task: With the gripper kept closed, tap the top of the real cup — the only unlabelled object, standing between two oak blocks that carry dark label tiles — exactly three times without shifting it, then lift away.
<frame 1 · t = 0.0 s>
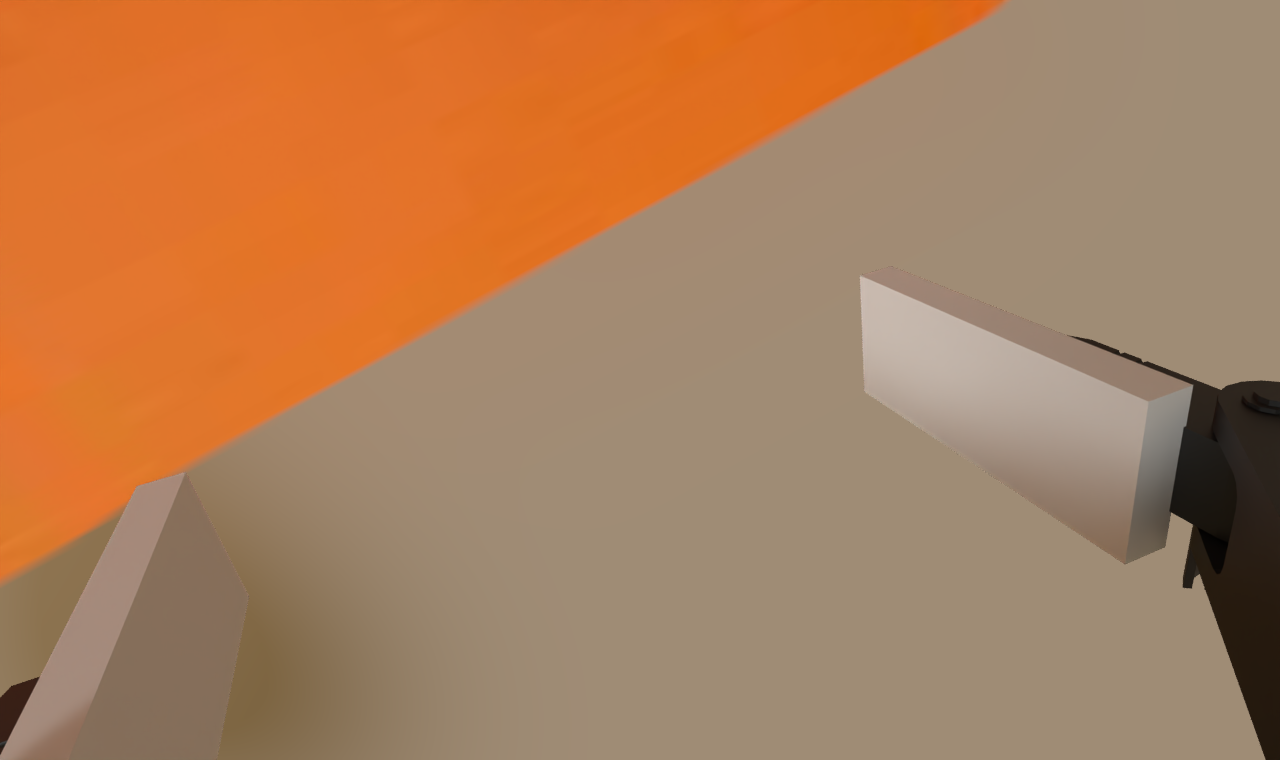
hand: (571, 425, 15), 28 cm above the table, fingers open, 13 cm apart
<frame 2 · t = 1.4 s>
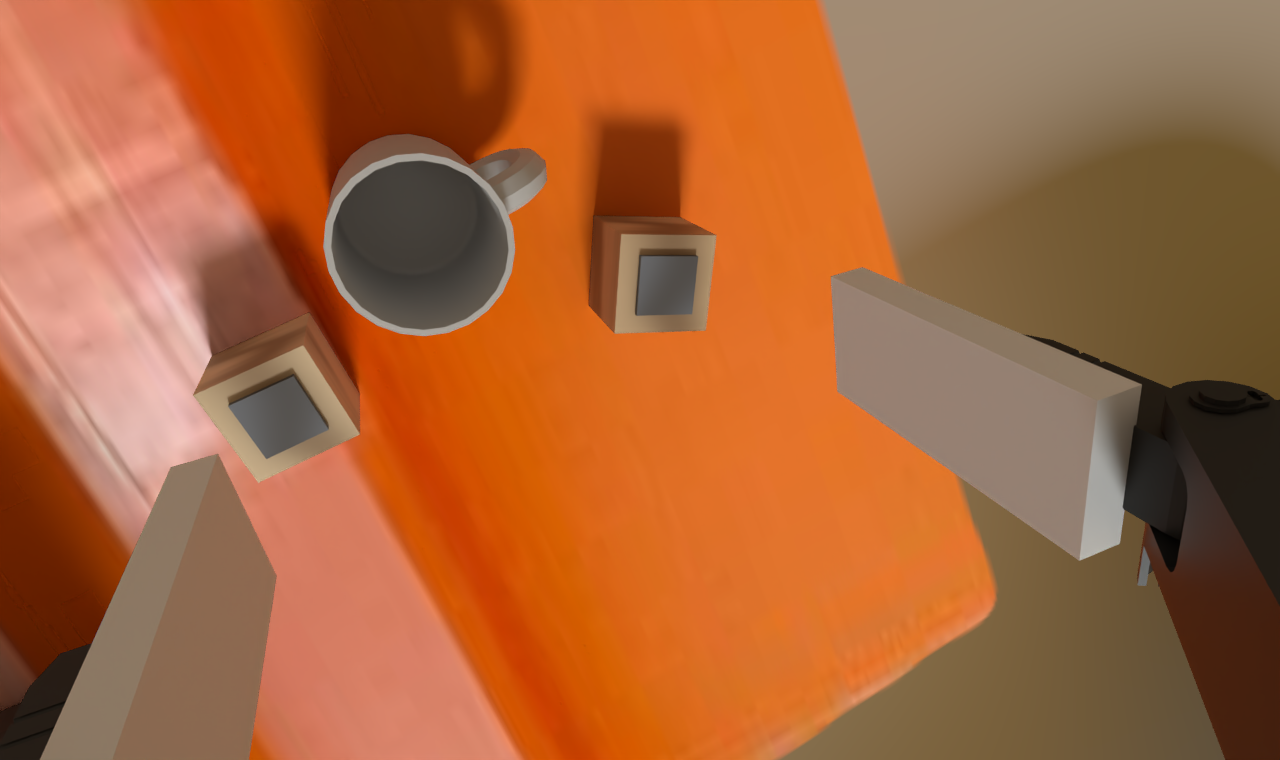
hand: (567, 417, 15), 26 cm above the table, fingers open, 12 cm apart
cup: (434, 194, 38), on the table
oak block 2: (288, 375, 39), on the table
oak block 1: (633, 261, 43), on the table
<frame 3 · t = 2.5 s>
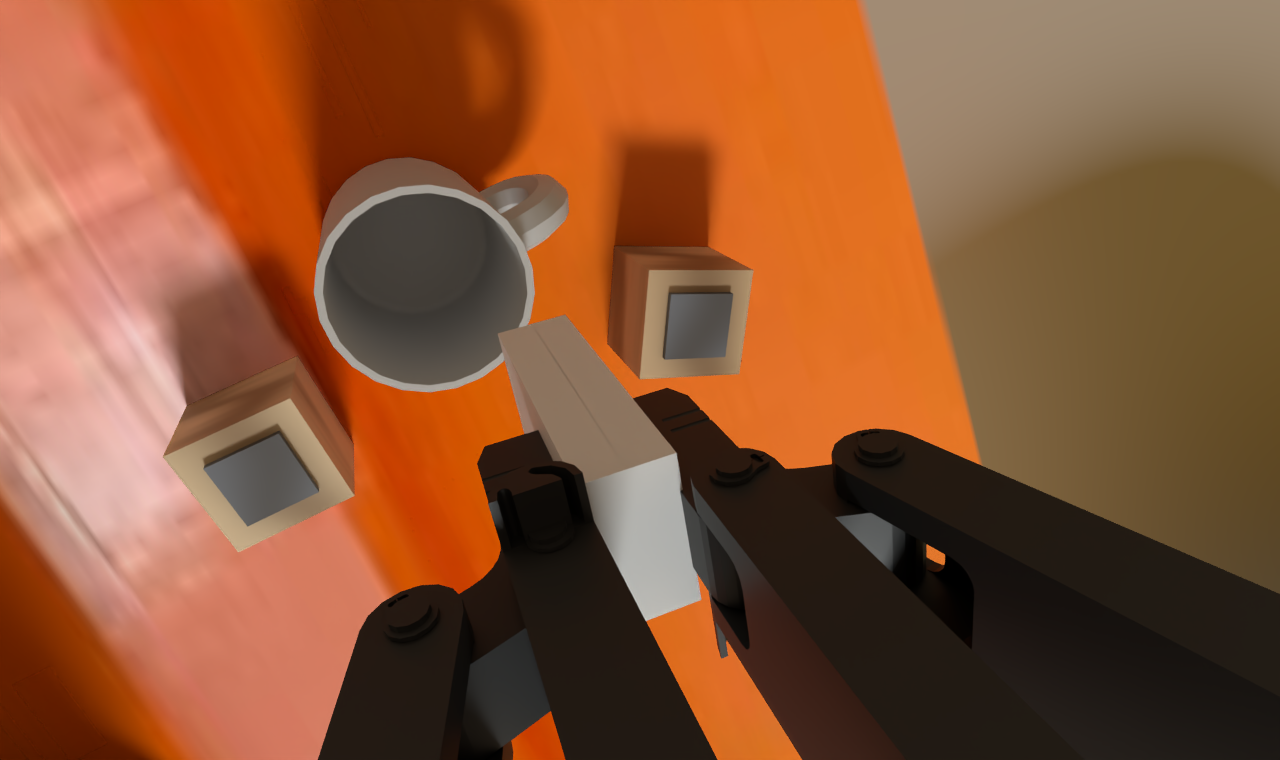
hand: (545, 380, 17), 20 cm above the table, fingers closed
cup: (438, 224, 34), on the table
oak block 2: (274, 425, 35), on the table
oak block 1: (657, 295, 39), on the table
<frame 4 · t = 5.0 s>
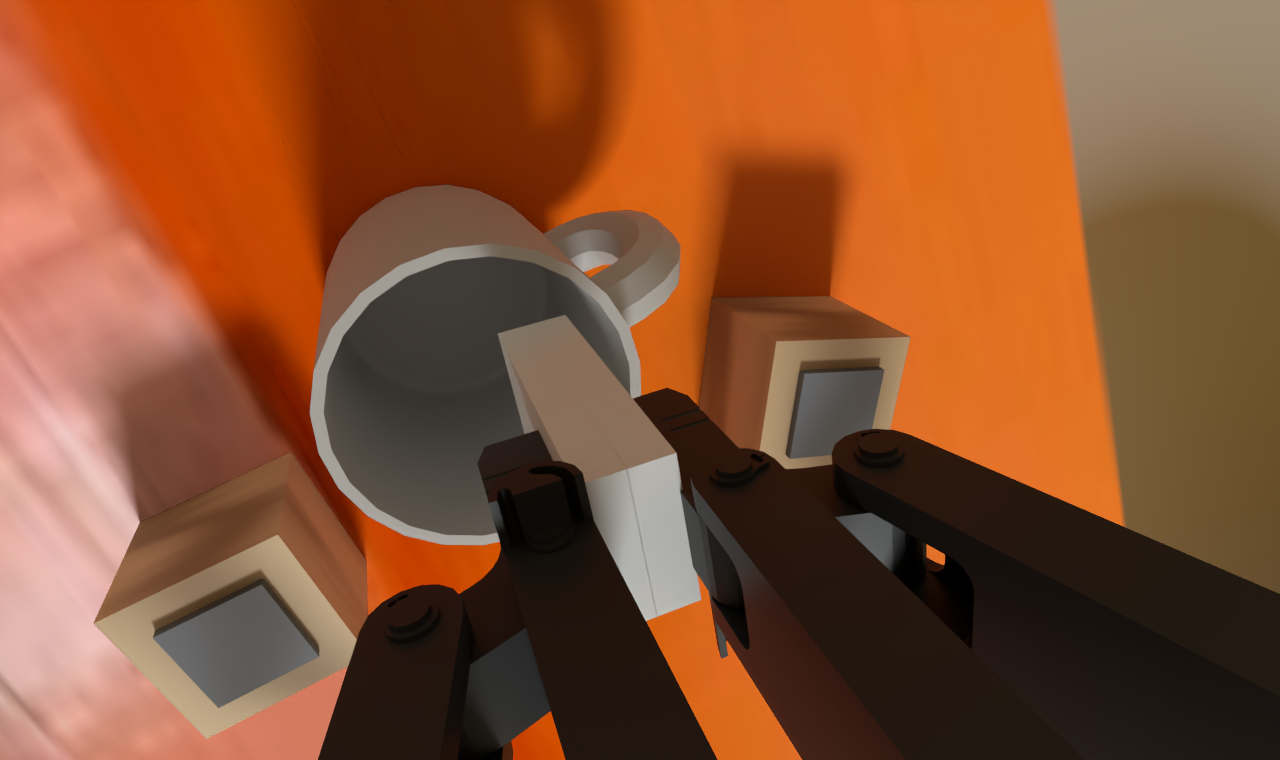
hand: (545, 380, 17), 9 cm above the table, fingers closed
cup: (482, 273, 25), on the table
oak block 2: (260, 541, 26), on the table
oak block 1: (762, 358, 30), on the table
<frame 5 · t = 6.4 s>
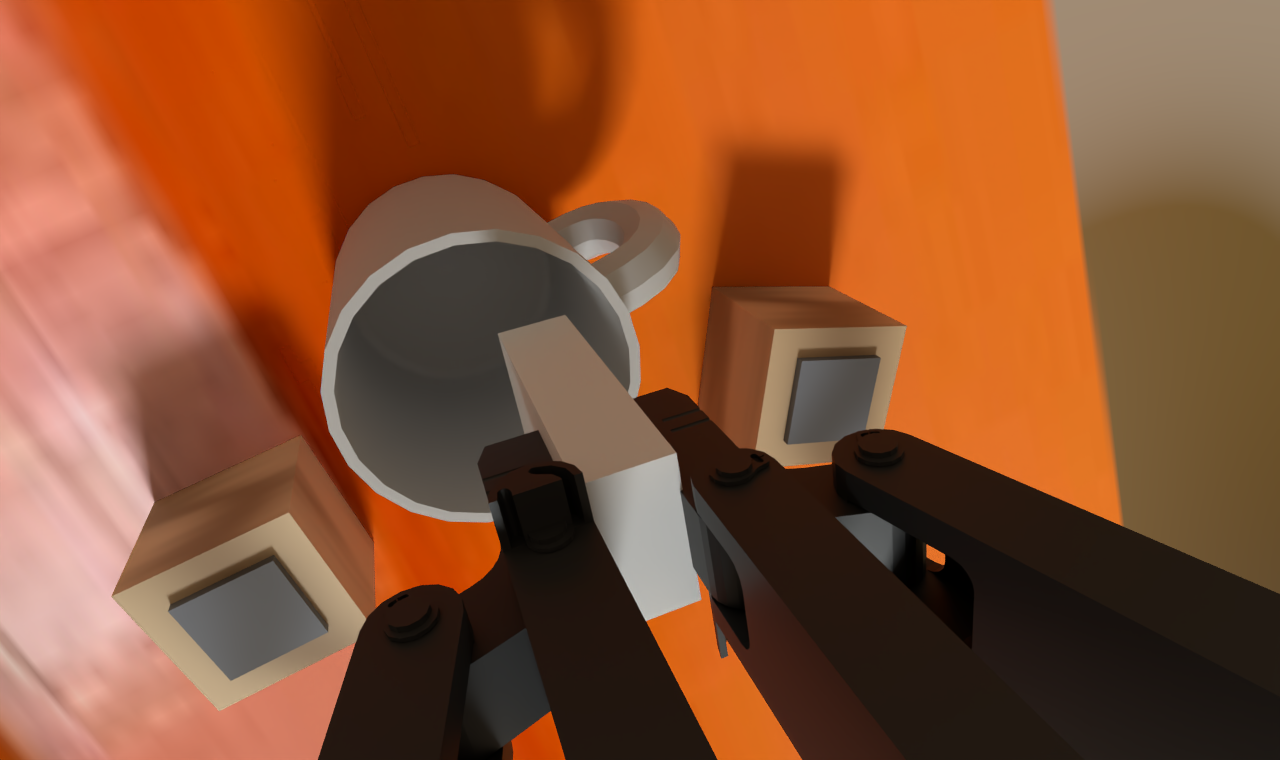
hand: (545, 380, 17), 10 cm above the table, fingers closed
cup: (488, 261, 26), on the table
oak block 2: (270, 522, 26), on the table
oak block 1: (762, 347, 30), on the table
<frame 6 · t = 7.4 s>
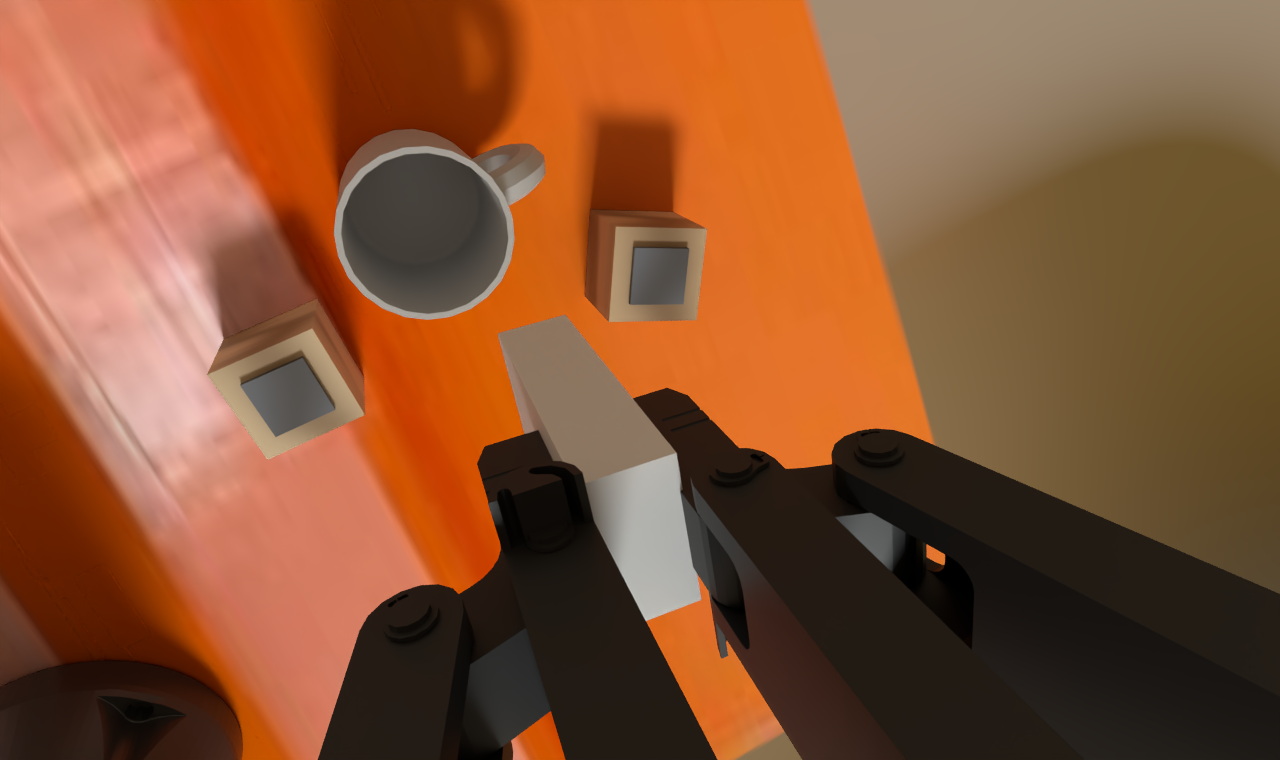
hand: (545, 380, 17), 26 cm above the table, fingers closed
cup: (437, 187, 40), on the table
oak block 2: (296, 358, 41), on the table
oak block 1: (628, 253, 44), on the table
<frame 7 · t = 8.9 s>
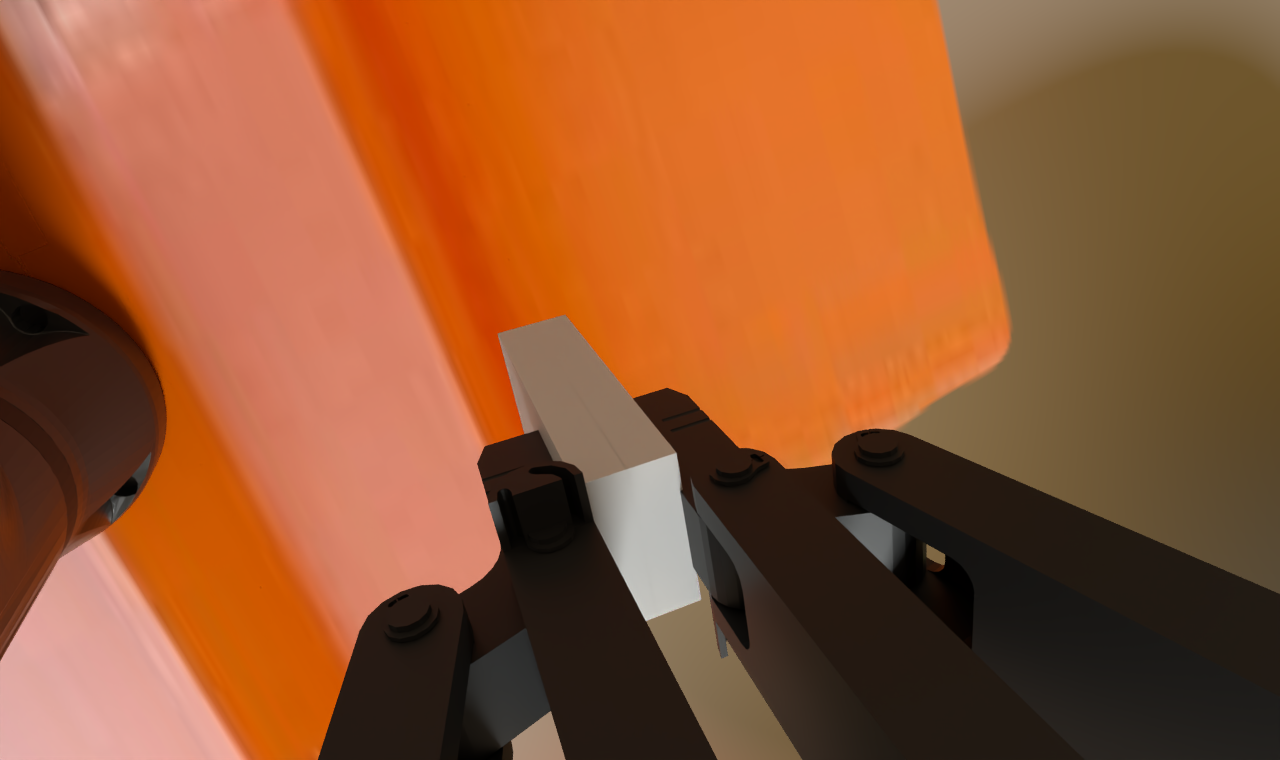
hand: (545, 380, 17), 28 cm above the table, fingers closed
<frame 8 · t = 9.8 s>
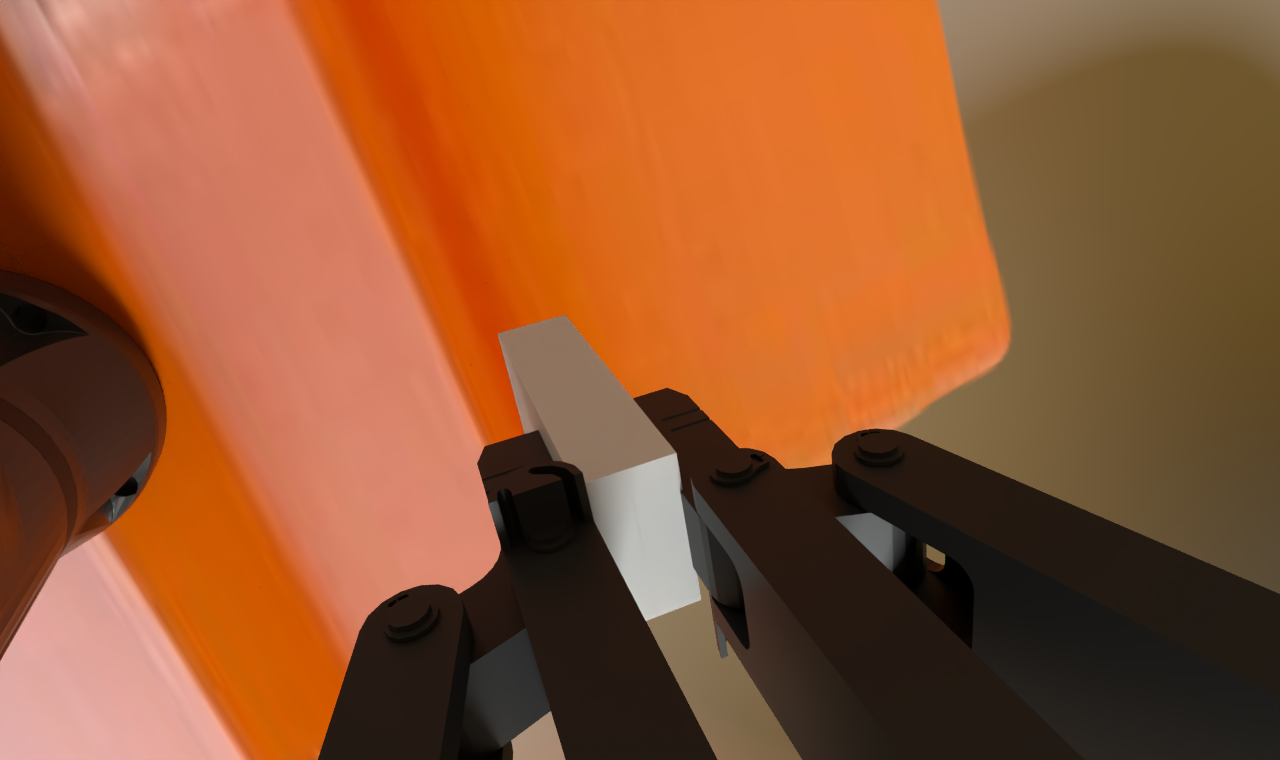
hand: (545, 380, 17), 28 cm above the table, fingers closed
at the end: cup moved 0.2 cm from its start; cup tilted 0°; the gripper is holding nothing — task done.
